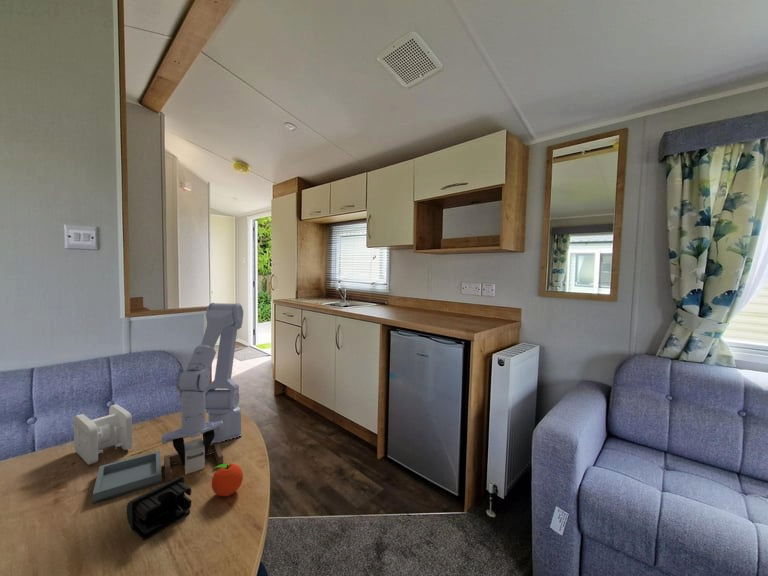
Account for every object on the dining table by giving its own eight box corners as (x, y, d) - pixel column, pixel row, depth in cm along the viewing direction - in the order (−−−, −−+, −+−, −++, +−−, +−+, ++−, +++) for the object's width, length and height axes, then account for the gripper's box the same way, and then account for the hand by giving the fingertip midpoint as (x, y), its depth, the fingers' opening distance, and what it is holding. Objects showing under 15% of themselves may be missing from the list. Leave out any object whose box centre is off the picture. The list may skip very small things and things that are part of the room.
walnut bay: (217, 449, 96) (217, 441, 96) (223, 464, 89) (223, 455, 89) (164, 464, 88) (163, 456, 88) (165, 482, 81) (165, 473, 81)
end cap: (177, 499, 75) (177, 472, 75) (193, 512, 71) (193, 482, 71) (126, 528, 66) (125, 496, 66) (141, 543, 63) (140, 510, 62)
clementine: (200, 500, 75) (200, 471, 74) (220, 481, 81) (220, 454, 81) (230, 505, 73) (230, 475, 73) (248, 485, 80) (248, 458, 80)
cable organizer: (134, 452, 94) (134, 414, 93) (87, 470, 85) (86, 428, 85) (116, 437, 102) (115, 402, 102) (71, 452, 93) (70, 414, 93)
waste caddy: (201, 458, 92) (201, 437, 91) (205, 470, 86) (205, 448, 86) (183, 463, 89) (183, 442, 89) (185, 476, 83) (185, 454, 83)
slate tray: (160, 458, 91) (159, 450, 91) (161, 482, 81) (161, 473, 80) (99, 475, 83) (99, 466, 83) (92, 504, 73) (92, 493, 73)
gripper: (162, 425, 80) (162, 477, 80) (225, 411, 88) (225, 458, 89) (161, 415, 85) (161, 464, 86) (220, 403, 94) (220, 447, 95)
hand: (193, 460), depth 88 cm, fingers closed on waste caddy, 4 cm apart
